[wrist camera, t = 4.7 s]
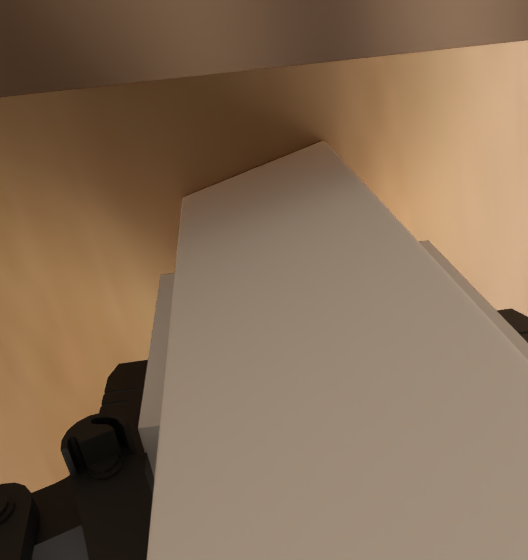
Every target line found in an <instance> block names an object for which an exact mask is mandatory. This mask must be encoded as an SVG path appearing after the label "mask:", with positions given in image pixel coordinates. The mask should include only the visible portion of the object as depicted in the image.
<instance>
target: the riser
mask: <svg viewBox="0 0 528 560" xmlns="http://www.w3.org/2000/svg"><path fill="white" fill-rule="evenodd" d="M525 40H528V0H0V97H7V96H16V95H25V94H34V93H44V92H53V91H62V90H71V89H81V88H90V87H99V86H108V85H118V84H127V83H136V82H145V81H155V80H164V79H173V78H182V77H192V76H201V75H210V74H219V73H229V72H238V71H247V70H256V69H266V68H275V67H284V66H293V65H303V64H312V63H321V62H330V61H340V60H349V59H358V58H367V57H377V56H386V55H395V54H404V53H414V52H423V51H432V50H441V49H451V48H460V47H469V46H478V45H488V44H497V43H506V42H515V41H525Z"/></svg>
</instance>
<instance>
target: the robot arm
mask: <svg viewBox="0 0 528 560" xmlns="http://www.w3.org/2000/svg"><path fill="white" fill-rule="evenodd" d="M419 243H420V244H421V245H422V246H423V247H424V248H425V249H426V250H427V252H428V253H429V254H430V255H431V256H432V257H433V258H434V259H435V260H436V261H437V262H438V263H439V265H440V266H441V267H442V268H443V269H444V270H445V271H446V272H447V273H448V274H449V275H450V276H451V278H452V279H453V280H454V281H455V282H456V283H457V284H458V285H459V286H460V287H461V288H462V289H463V290H464V292H465V293H466V294H467V295H468V296H469V297H470V298H471V299H472V300H473V301H474V302H475V303H476V305H477V306H478V307H479V308H480V309H481V310H482V311H483V312H484V313H485V314H486V315H487V316H488V318H489V319H490V320H491V321H492V322H493V323H494V324H495V325H496V326H497V327H498V328H499V329H500V331H501V332H502V333H503V334H504V335H505V336H506V337H507V338H508V339H509V340H510V341H511V342H512V344H513V345H514V346H515V347H516V348H517V349H518V350H519V351H520V352H521V353H522V354H523V355H524V356H525V358H526V359H527V360H528V317H527V316H525V315H523V314H521V313H519V312H517V311H515V310H513V309H505V310H498V311H496V310H495V309H494V308H493V307H492V306H491V304H490V303H489V302H488V301H487V300H486V299H485V298H484V297H483V296H482V295H481V294H480V293H479V292H478V291H477V290H476V289H475V288H474V287H473V286H472V285H471V284H470V283H469V282H468V281H467V280H466V279H465V278H464V277H463V276H462V275H461V274H460V273H459V272H458V271H457V269H456V268H455V267H454V266H453V265H452V264H451V263H450V262H449V261H448V260H447V259H446V258H445V257H444V256H443V255H442V254H441V253H440V252H439V251H438V250H437V249H436V248H435V247H434V246H433V245H432V244H431V243H430V242H429V241H428V240H427V241H419ZM174 276H175V273H171V274H163V275H161V276H160V283H159V290H158V297H157V303H156V310H155V317H154V324H153V330H152V337H151V344H150V350H149V357H148V360H144V361H136V362H129V363H122V364H119V365H118V366H117V367H116V368H115V369H114V371H113V372H112V373H111V374H110V376H109V377H108V380H107V384H106V388H105V395H104V396H103V400H102V407H101V408H100V412H99V413H98V414H94V415H90V416H88V417H86V418H84V419H82V420H80V421H78V422H77V423H76V424H75V425H73V426H72V427H71V428H70V429H69V430H68V431H67V432H66V434H65V436H64V437H63V439H62V442H61V452H62V455H63V457H64V460H65V462H66V465H67V467H68V470H69V472H70V475H69V476H68V477H66V478H65V479H63V480H61V481H59V482H57V483H55V484H53V485H50V486H48V487H45V488H43V489H40V490H38V491H35V492H33V493H30V491H29V490H28V489H27V488H26V486H24V485H21V484H18V483H6V484H1V485H0V560H147V551H148V541H149V530H150V520H151V510H152V500H153V490H154V480H155V469H156V459H157V449H158V439H159V429H160V419H161V409H162V398H163V388H164V378H165V368H166V358H167V348H168V337H169V327H170V317H171V307H172V297H173V287H174Z"/></svg>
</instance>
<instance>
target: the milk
mask: <svg viewBox="0 0 528 560" xmlns="http://www.w3.org/2000/svg"><path fill="white" fill-rule="evenodd" d="M147 560H528V360H527V359H526V358H525V356H524V355H523V354H522V353H521V352H520V351H519V350H518V349H517V348H516V347H515V346H514V345H513V344H512V342H511V341H510V340H509V339H508V338H507V337H506V336H505V335H504V334H503V333H502V332H501V331H500V329H499V328H498V327H497V326H496V325H495V324H494V323H493V322H492V321H491V320H490V319H489V318H488V316H487V315H486V314H485V313H484V312H483V311H482V310H481V309H480V308H479V307H478V306H477V305H476V303H475V302H474V301H473V300H472V299H471V298H470V297H469V296H468V295H467V294H466V293H465V292H464V290H463V289H462V288H461V287H460V286H459V285H458V284H457V283H456V282H455V281H454V280H453V279H452V278H451V276H450V275H449V274H448V273H447V272H446V271H445V270H444V269H443V268H442V267H441V266H440V265H439V263H438V262H437V261H436V260H435V259H434V258H433V257H432V256H431V255H430V254H429V253H428V252H427V250H426V249H425V248H424V247H423V246H422V245H421V244H420V243H419V242H418V241H417V240H416V239H415V237H414V236H413V235H412V234H411V233H410V232H409V231H408V230H407V229H406V228H405V227H404V226H403V224H402V223H401V222H400V221H399V220H398V219H397V218H396V217H395V216H394V215H393V214H392V213H391V212H390V210H389V209H388V208H387V207H386V206H385V205H384V204H383V203H382V202H381V201H380V200H379V199H378V197H377V196H376V195H375V194H374V193H373V192H372V191H371V190H370V189H369V188H368V187H367V186H366V184H365V183H364V182H363V181H362V180H361V179H360V178H359V177H358V176H357V175H356V174H355V173H354V171H353V170H352V169H351V168H350V167H349V166H348V165H347V164H346V163H345V162H344V161H343V160H342V158H341V157H340V156H339V155H338V154H337V153H336V152H335V151H334V150H333V149H332V148H331V147H330V146H329V144H328V143H327V142H326V141H321V142H318V143H316V144H313V145H311V146H308V147H306V148H303V149H301V150H298V151H296V152H293V153H291V154H289V155H286V156H284V157H281V158H279V159H276V160H274V161H271V162H269V163H266V164H264V165H261V166H259V167H256V168H254V169H251V170H249V171H246V172H244V173H242V174H239V175H237V176H234V177H232V178H229V179H227V180H224V181H222V182H219V183H217V184H214V185H212V186H209V187H207V188H204V189H202V190H199V191H197V192H195V193H192V194H190V195H187V196H185V197H183V198H182V205H181V215H180V226H179V236H178V246H177V256H176V266H175V276H174V287H173V297H172V307H171V317H170V327H169V337H168V348H167V358H166V368H165V378H164V388H163V398H162V409H161V419H160V429H159V439H158V449H157V459H156V469H155V480H154V490H153V500H152V510H151V520H150V530H149V541H148V551H147Z"/></svg>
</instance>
